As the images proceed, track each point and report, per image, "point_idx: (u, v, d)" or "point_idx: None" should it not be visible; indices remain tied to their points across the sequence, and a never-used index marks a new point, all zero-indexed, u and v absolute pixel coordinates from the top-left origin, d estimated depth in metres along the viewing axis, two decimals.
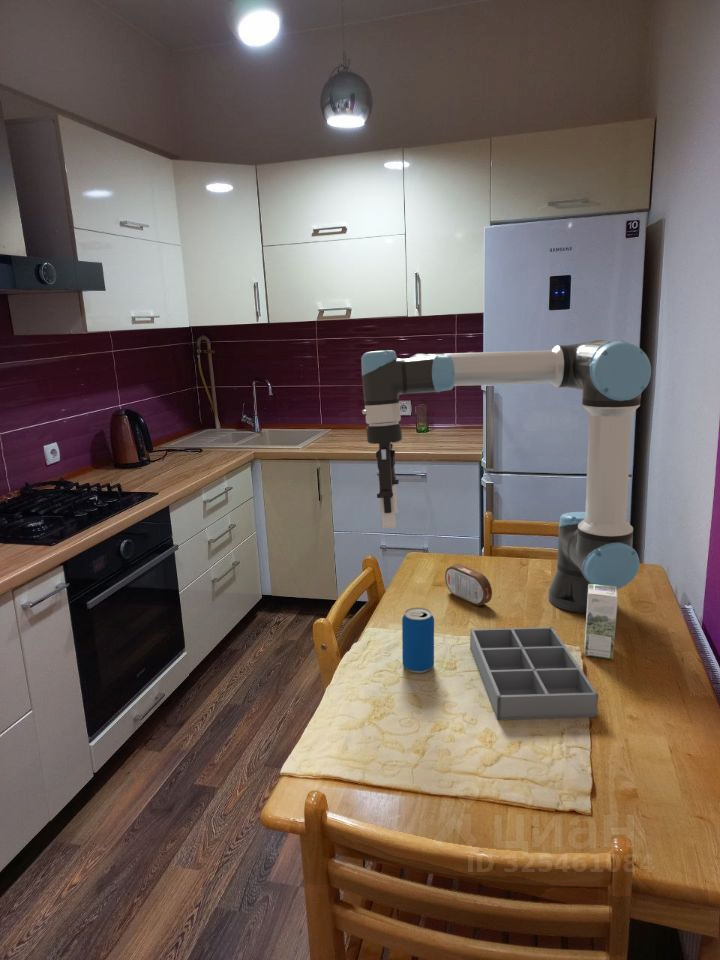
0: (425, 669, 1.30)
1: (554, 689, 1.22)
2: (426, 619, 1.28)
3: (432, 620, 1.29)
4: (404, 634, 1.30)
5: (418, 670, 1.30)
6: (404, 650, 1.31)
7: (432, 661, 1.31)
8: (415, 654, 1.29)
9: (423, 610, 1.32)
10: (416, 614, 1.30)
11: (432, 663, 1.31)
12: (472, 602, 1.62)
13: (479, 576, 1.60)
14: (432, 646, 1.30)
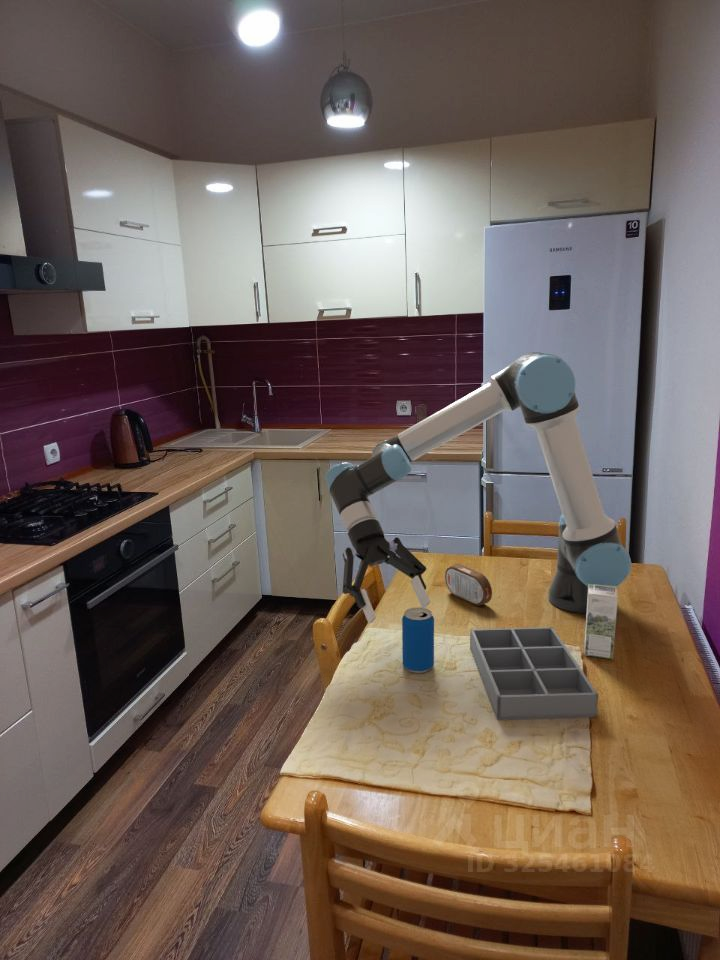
0: (425, 669, 1.30)
1: (554, 689, 1.22)
2: (426, 619, 1.28)
3: (432, 620, 1.29)
4: (404, 634, 1.30)
5: (418, 670, 1.30)
6: (404, 650, 1.31)
7: (432, 661, 1.31)
8: (415, 654, 1.29)
9: (423, 610, 1.32)
10: (416, 614, 1.30)
11: (432, 663, 1.31)
12: (472, 602, 1.62)
13: (479, 576, 1.60)
14: (432, 646, 1.30)
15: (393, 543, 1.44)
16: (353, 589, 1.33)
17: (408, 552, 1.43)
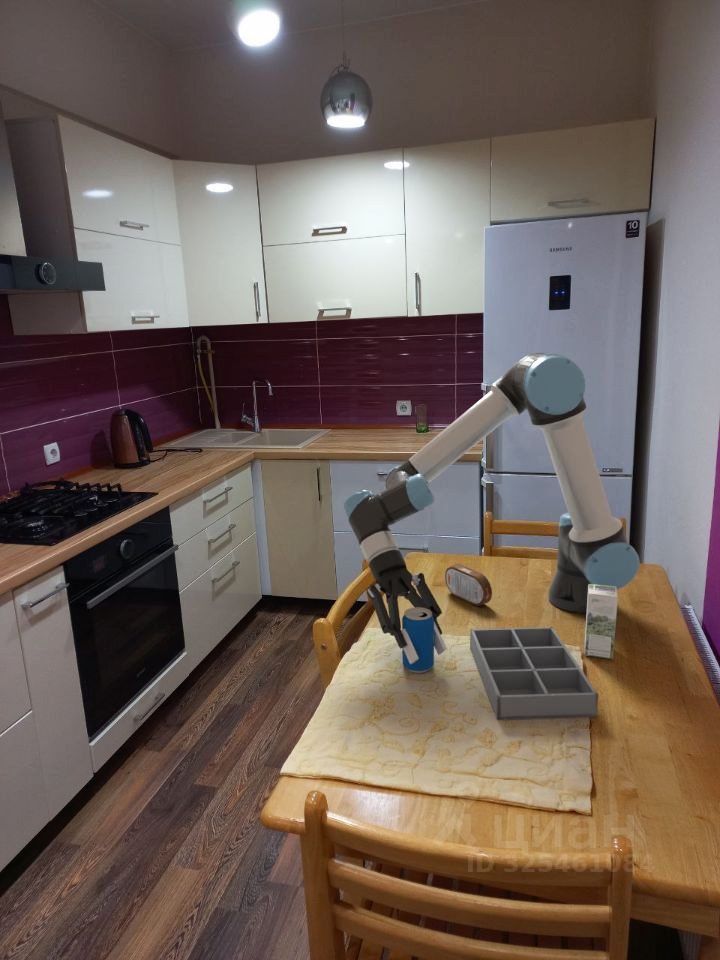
0: (425, 669, 1.30)
1: (554, 689, 1.22)
2: (426, 619, 1.28)
3: (432, 620, 1.29)
4: None
5: (418, 670, 1.30)
6: None
7: (432, 661, 1.31)
8: None
9: (423, 610, 1.32)
10: (416, 614, 1.30)
11: (432, 663, 1.31)
12: (472, 602, 1.62)
13: (479, 576, 1.60)
14: (432, 646, 1.30)
15: (416, 578, 1.38)
16: (395, 630, 1.29)
17: (428, 591, 1.37)
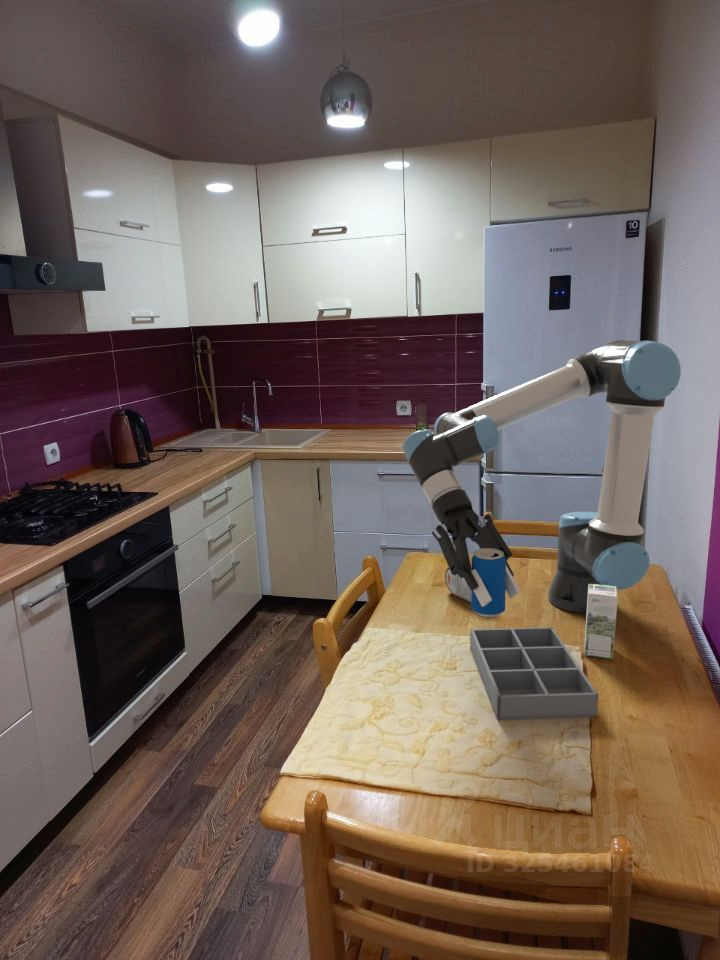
0: (497, 612, 1.22)
1: (554, 689, 1.22)
2: (498, 558, 1.20)
3: (504, 560, 1.21)
4: None
5: (490, 613, 1.22)
6: (474, 593, 1.23)
7: (504, 604, 1.23)
8: None
9: (493, 551, 1.24)
10: (487, 554, 1.22)
11: (504, 607, 1.23)
12: None
13: None
14: (504, 588, 1.22)
15: (483, 519, 1.30)
16: (465, 571, 1.21)
17: (497, 532, 1.29)
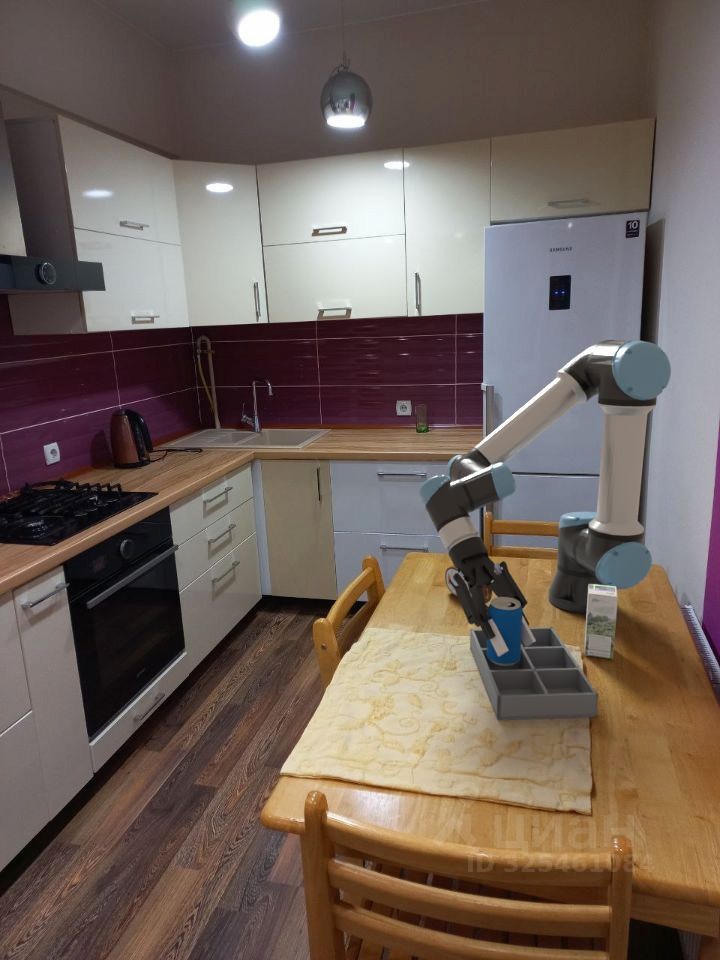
0: (513, 662, 1.23)
1: (554, 689, 1.22)
2: (516, 609, 1.21)
3: (521, 610, 1.22)
4: None
5: (505, 663, 1.23)
6: (490, 642, 1.24)
7: (519, 653, 1.24)
8: None
9: (509, 600, 1.25)
10: (503, 604, 1.23)
11: (519, 656, 1.24)
12: None
13: None
14: (520, 638, 1.23)
15: (498, 566, 1.32)
16: (482, 620, 1.22)
17: (512, 580, 1.30)
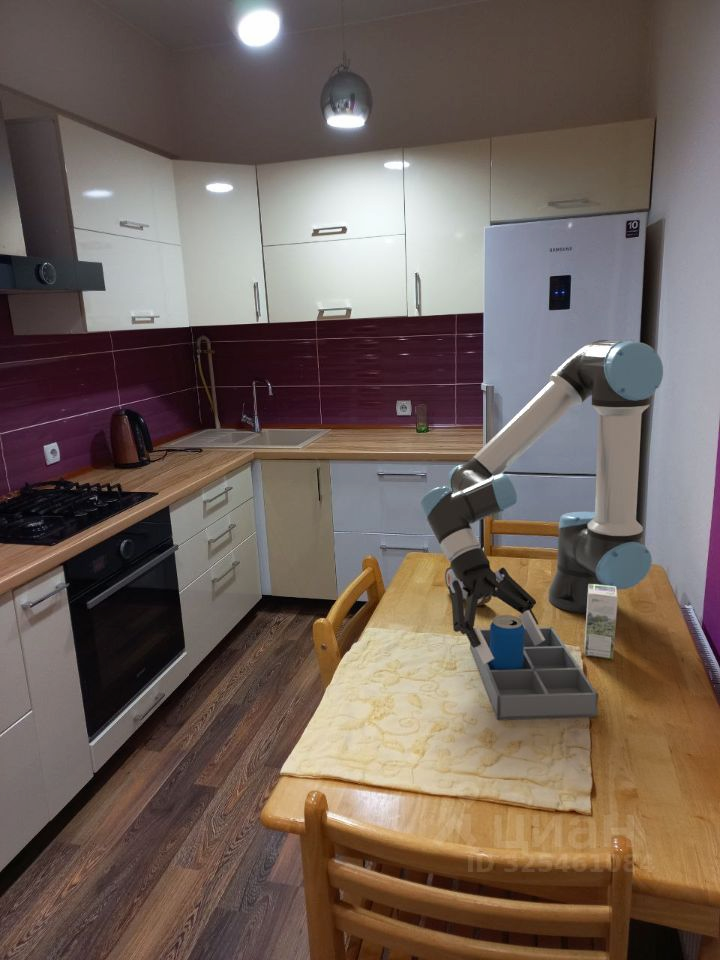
0: None
1: (554, 689, 1.22)
2: (517, 627, 1.22)
3: (523, 628, 1.23)
4: (493, 643, 1.24)
5: None
6: (493, 660, 1.25)
7: None
8: (506, 664, 1.23)
9: (511, 618, 1.26)
10: (505, 622, 1.24)
11: None
12: None
13: None
14: (522, 655, 1.24)
15: (499, 574, 1.33)
16: (466, 627, 1.22)
17: (516, 584, 1.32)
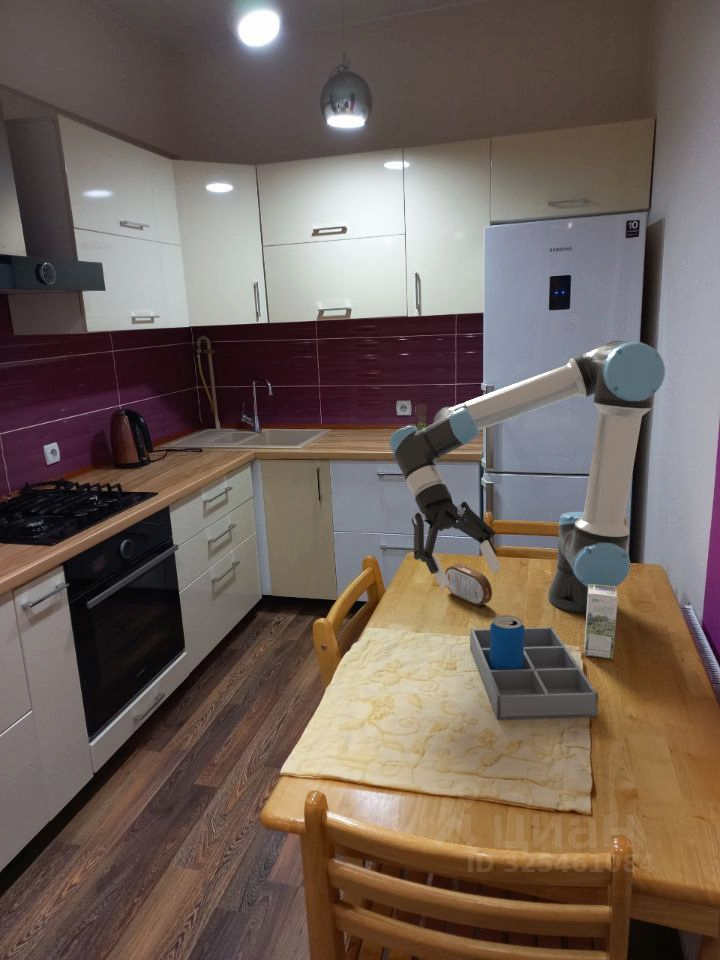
0: None
1: (554, 689, 1.22)
2: (518, 627, 1.22)
3: (523, 628, 1.23)
4: (493, 643, 1.24)
5: None
6: (493, 660, 1.25)
7: None
8: (506, 664, 1.23)
9: (511, 618, 1.26)
10: (505, 622, 1.24)
11: None
12: (472, 602, 1.62)
13: (479, 576, 1.60)
14: (522, 655, 1.24)
15: (461, 507, 1.42)
16: (425, 555, 1.32)
17: (476, 516, 1.41)
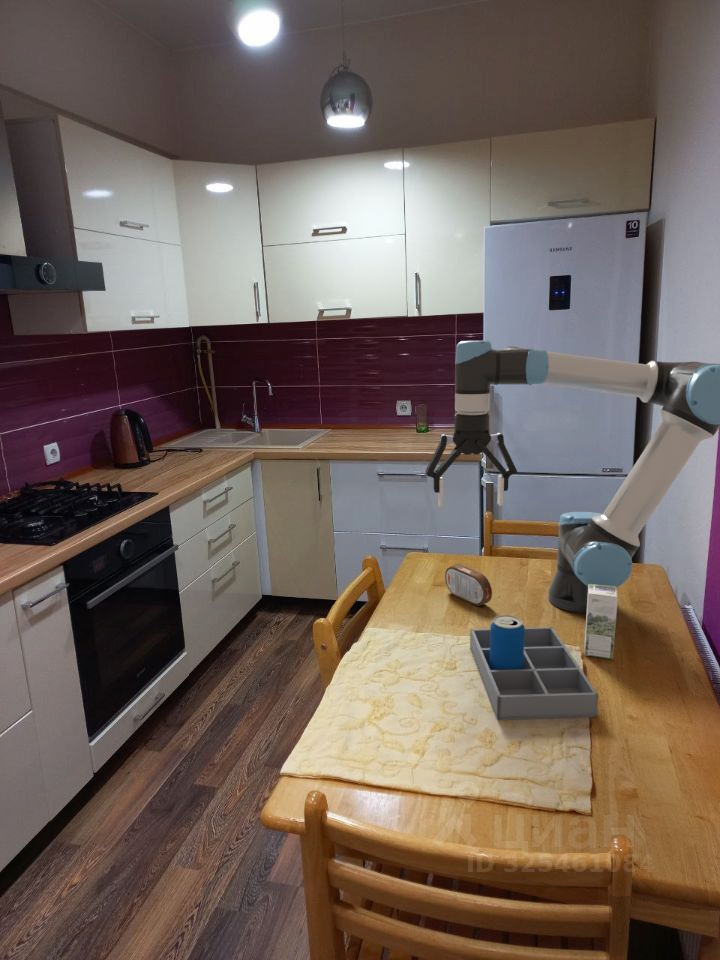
0: None
1: (554, 689, 1.22)
2: (518, 627, 1.22)
3: (523, 628, 1.23)
4: (493, 643, 1.24)
5: None
6: (493, 660, 1.25)
7: None
8: (506, 664, 1.23)
9: (511, 618, 1.26)
10: (506, 622, 1.24)
11: None
12: (472, 602, 1.62)
13: (479, 576, 1.60)
14: (522, 655, 1.24)
15: (496, 438, 1.42)
16: (433, 476, 1.44)
17: (506, 452, 1.42)
